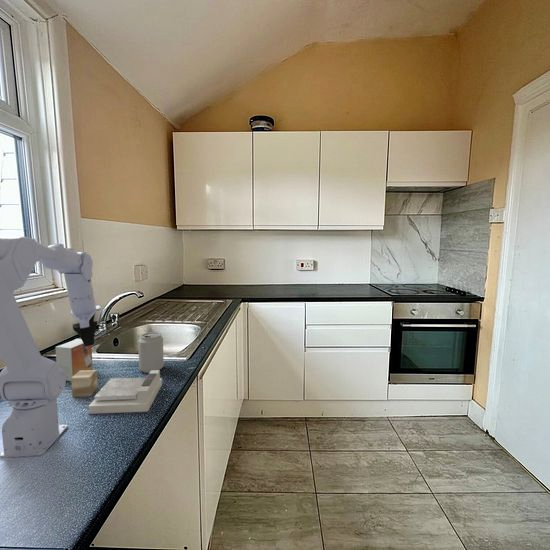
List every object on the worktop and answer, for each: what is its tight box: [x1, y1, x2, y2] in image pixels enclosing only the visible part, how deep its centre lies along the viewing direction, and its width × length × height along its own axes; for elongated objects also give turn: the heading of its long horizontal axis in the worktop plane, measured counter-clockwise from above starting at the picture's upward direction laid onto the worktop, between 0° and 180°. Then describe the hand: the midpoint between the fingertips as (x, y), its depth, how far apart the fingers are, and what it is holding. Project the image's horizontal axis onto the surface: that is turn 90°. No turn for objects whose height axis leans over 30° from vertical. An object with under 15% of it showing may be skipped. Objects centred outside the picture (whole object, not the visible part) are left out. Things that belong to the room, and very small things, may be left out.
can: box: [137, 331, 165, 374], centre depth 100 cm, size 8×8×12 cm
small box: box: [55, 338, 94, 382], centre depth 94 cm, size 8×6×10 cm
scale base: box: [88, 370, 163, 415], centre depth 82 cm, size 14×14×5 cm
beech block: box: [70, 369, 99, 398], centre depth 85 cm, size 4×4×6 cm
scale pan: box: [93, 377, 146, 401], centre depth 82 cm, size 10×10×1 cm
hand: (89, 338), depth 87 cm, fingers open, 7 cm apart
